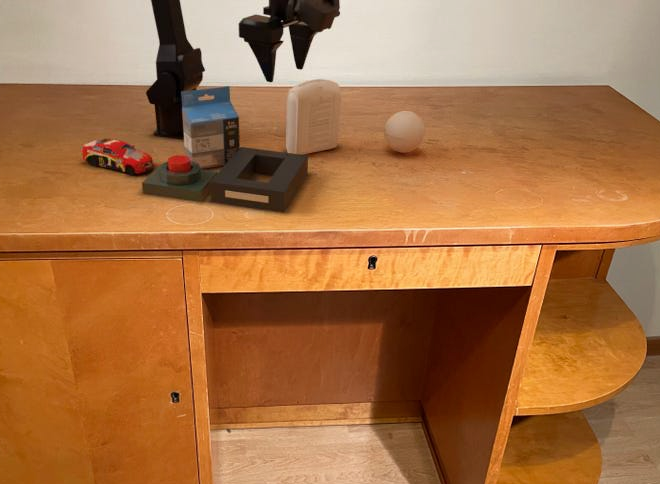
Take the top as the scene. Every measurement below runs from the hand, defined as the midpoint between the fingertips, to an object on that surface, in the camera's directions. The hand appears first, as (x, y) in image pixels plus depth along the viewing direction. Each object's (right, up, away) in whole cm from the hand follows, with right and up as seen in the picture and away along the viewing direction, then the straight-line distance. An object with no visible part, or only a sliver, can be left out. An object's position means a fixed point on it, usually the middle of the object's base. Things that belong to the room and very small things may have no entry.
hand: (285, 75), depth 120 cm
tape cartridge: (-13, -14, +4) cm, 19 cm away
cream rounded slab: (+5, -10, +11) cm, 15 cm away
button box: (-17, -20, -4) cm, 27 cm away
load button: (-17, -18, -6) cm, 25 cm away
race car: (-29, -15, +2) cm, 33 cm away
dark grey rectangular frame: (-4, -20, -3) cm, 20 cm away
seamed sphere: (+20, -10, +11) cm, 25 cm away
